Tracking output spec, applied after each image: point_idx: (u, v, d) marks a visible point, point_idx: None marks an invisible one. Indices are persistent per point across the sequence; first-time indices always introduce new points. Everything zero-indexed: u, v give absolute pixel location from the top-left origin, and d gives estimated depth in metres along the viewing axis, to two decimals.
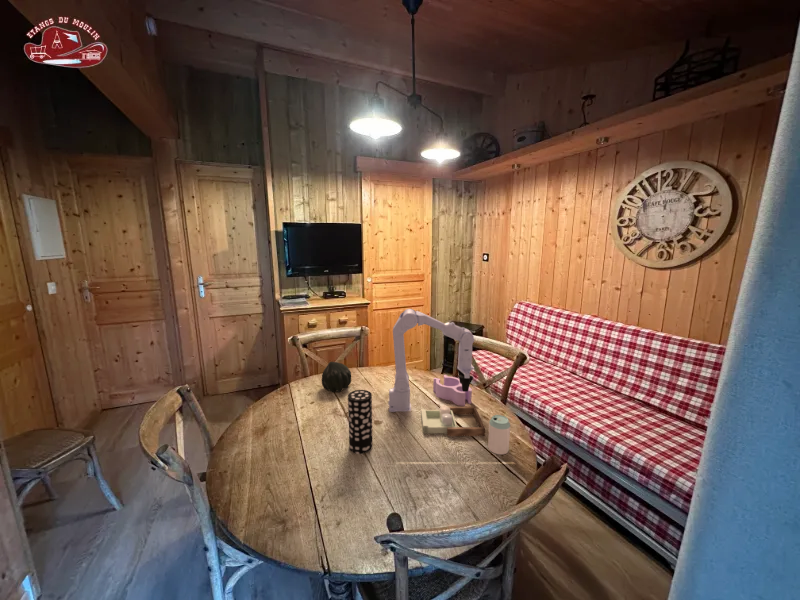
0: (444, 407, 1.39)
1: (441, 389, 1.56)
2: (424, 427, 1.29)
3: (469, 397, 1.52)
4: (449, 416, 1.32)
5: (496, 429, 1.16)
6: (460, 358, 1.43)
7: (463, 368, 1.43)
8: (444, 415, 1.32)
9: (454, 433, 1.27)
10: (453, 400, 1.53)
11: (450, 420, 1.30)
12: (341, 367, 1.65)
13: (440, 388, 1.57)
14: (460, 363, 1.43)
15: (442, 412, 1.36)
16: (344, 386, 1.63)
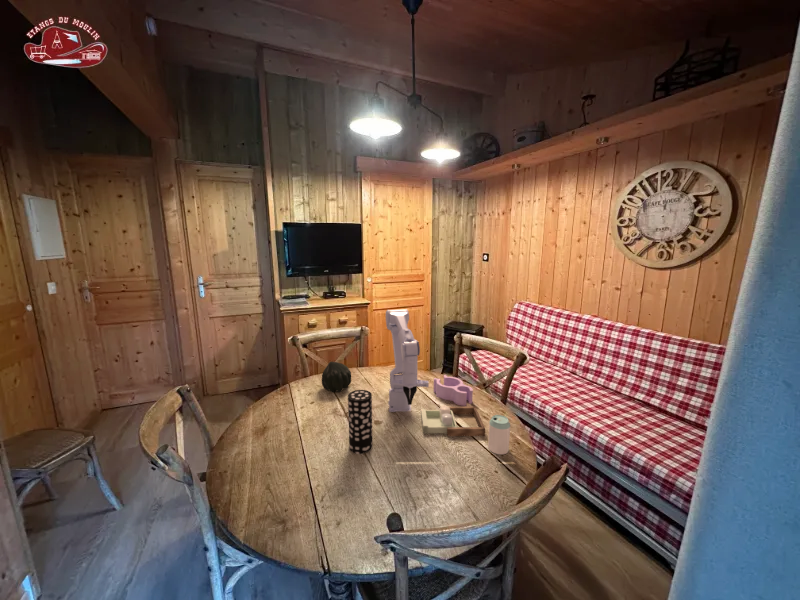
0: (444, 407, 1.39)
1: (442, 389, 1.56)
2: (424, 427, 1.29)
3: (470, 397, 1.52)
4: (449, 416, 1.32)
5: (496, 429, 1.16)
6: None
7: None
8: (444, 415, 1.32)
9: (454, 433, 1.27)
10: (454, 400, 1.53)
11: (450, 420, 1.30)
12: (341, 367, 1.65)
13: (441, 388, 1.56)
14: None
15: (442, 412, 1.36)
16: (344, 386, 1.63)
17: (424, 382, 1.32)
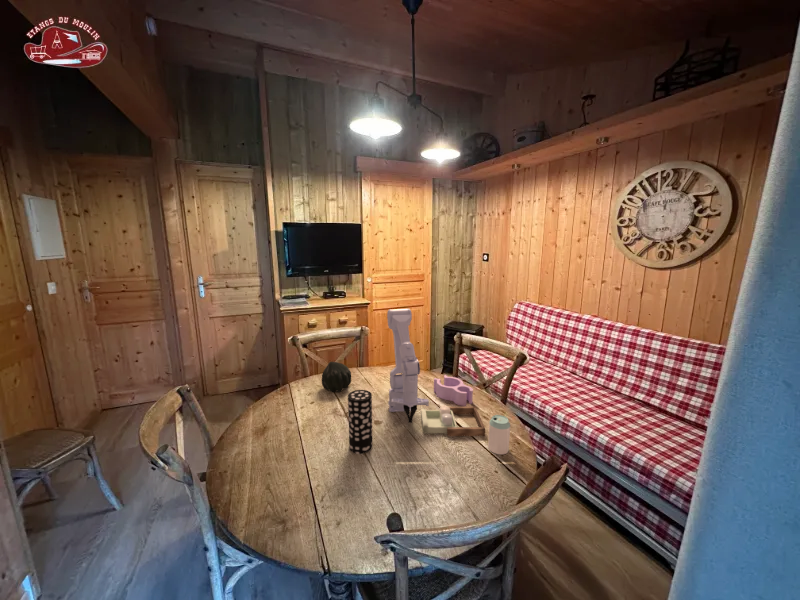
0: (444, 407, 1.39)
1: (442, 389, 1.56)
2: (424, 427, 1.29)
3: (470, 397, 1.52)
4: (449, 416, 1.32)
5: (496, 429, 1.16)
6: None
7: None
8: (444, 415, 1.32)
9: (454, 433, 1.27)
10: (454, 400, 1.53)
11: (450, 420, 1.30)
12: (341, 367, 1.65)
13: (441, 388, 1.56)
14: None
15: (442, 412, 1.36)
16: (344, 386, 1.63)
17: (424, 400, 1.34)
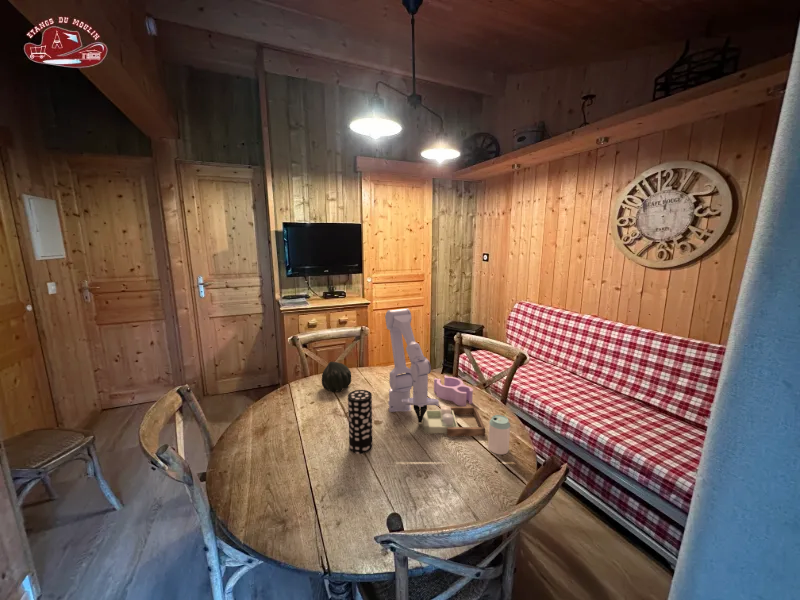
0: (445, 407, 1.39)
1: (442, 389, 1.56)
2: (425, 427, 1.29)
3: (470, 397, 1.52)
4: (450, 416, 1.32)
5: (496, 429, 1.16)
6: None
7: None
8: (445, 415, 1.32)
9: (454, 433, 1.27)
10: (454, 400, 1.53)
11: (451, 420, 1.30)
12: (341, 367, 1.65)
13: (441, 388, 1.56)
14: None
15: (443, 412, 1.36)
16: (344, 386, 1.63)
17: (434, 400, 1.34)
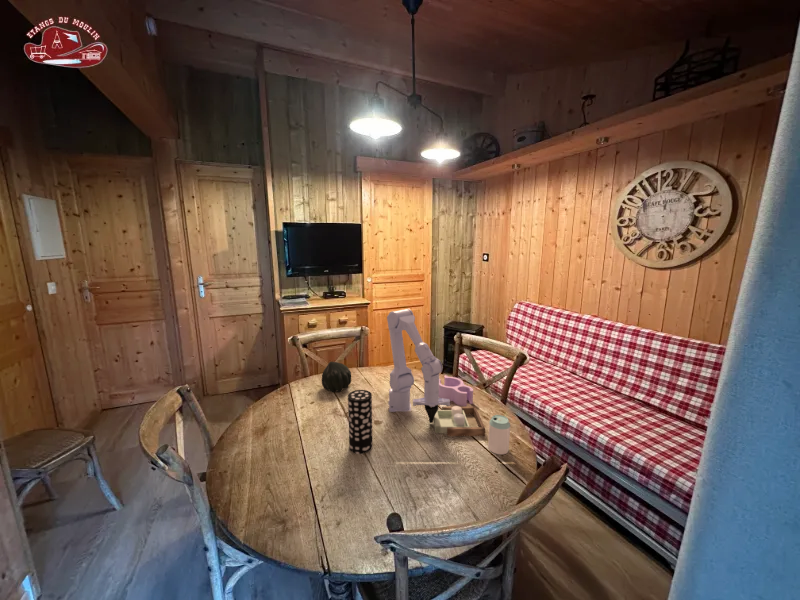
0: (456, 407, 1.39)
1: (442, 389, 1.56)
2: (437, 427, 1.29)
3: (470, 397, 1.52)
4: (461, 416, 1.32)
5: (496, 429, 1.16)
6: None
7: None
8: (456, 415, 1.33)
9: (454, 433, 1.27)
10: (454, 400, 1.53)
11: (462, 420, 1.30)
12: (341, 367, 1.65)
13: (441, 388, 1.56)
14: None
15: (454, 412, 1.36)
16: (344, 386, 1.63)
17: (445, 400, 1.34)
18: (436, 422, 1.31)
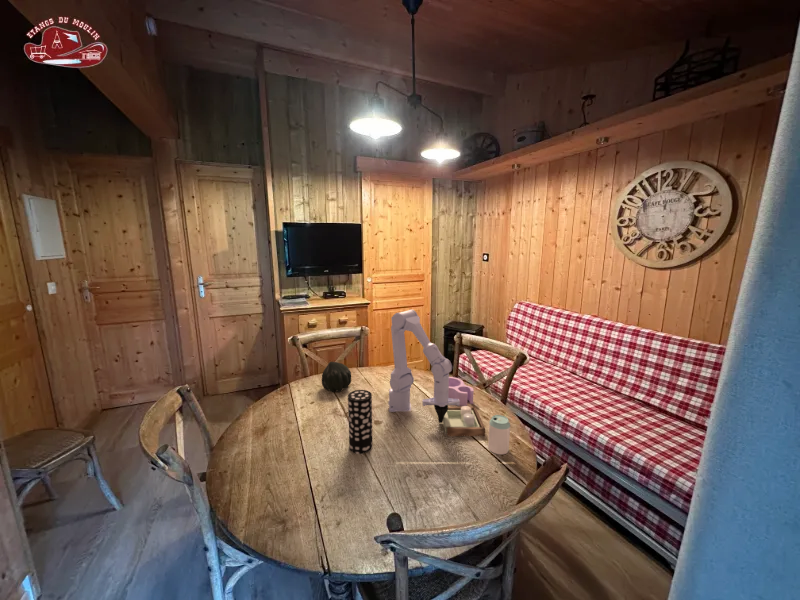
0: (465, 406, 1.39)
1: None
2: None
3: (471, 397, 1.52)
4: (471, 416, 1.32)
5: (496, 429, 1.16)
6: None
7: (434, 398, 1.35)
8: (466, 415, 1.33)
9: (454, 433, 1.27)
10: None
11: (472, 420, 1.30)
12: (341, 367, 1.65)
13: None
14: None
15: (463, 412, 1.36)
16: (344, 386, 1.63)
17: (455, 400, 1.34)
18: (446, 422, 1.31)
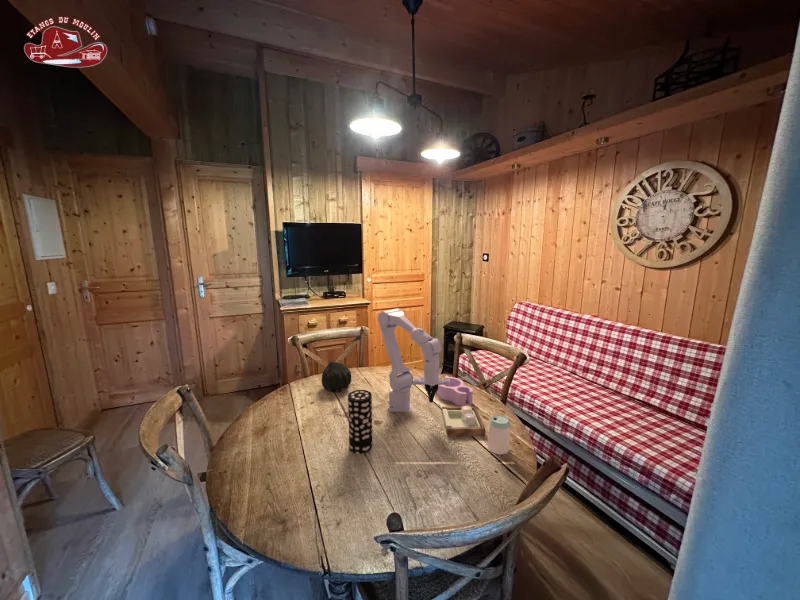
0: (466, 406, 1.39)
1: (442, 390, 1.56)
2: None
3: (470, 398, 1.51)
4: (471, 416, 1.32)
5: (496, 429, 1.16)
6: None
7: None
8: (467, 415, 1.33)
9: (454, 433, 1.27)
10: (454, 401, 1.52)
11: (473, 420, 1.30)
12: (341, 367, 1.65)
13: (441, 389, 1.56)
14: None
15: (464, 412, 1.36)
16: (344, 386, 1.63)
17: (445, 380, 1.34)
18: (447, 422, 1.31)
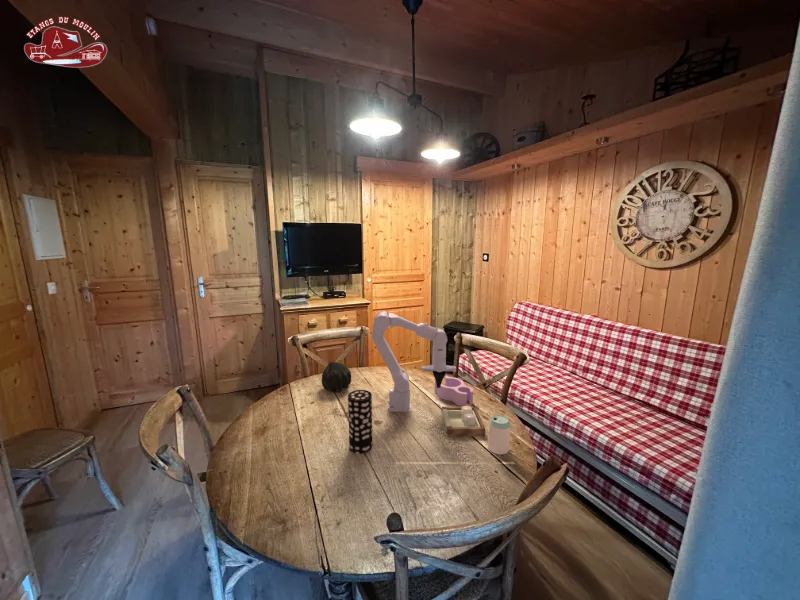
0: (466, 406, 1.39)
1: (442, 390, 1.56)
2: None
3: (471, 398, 1.51)
4: (471, 416, 1.32)
5: (496, 429, 1.16)
6: None
7: None
8: (467, 415, 1.33)
9: (454, 433, 1.27)
10: (454, 401, 1.52)
11: (473, 420, 1.30)
12: (341, 367, 1.65)
13: (441, 389, 1.56)
14: None
15: (464, 412, 1.36)
16: (344, 386, 1.63)
17: (452, 367, 1.46)
18: (447, 422, 1.31)
